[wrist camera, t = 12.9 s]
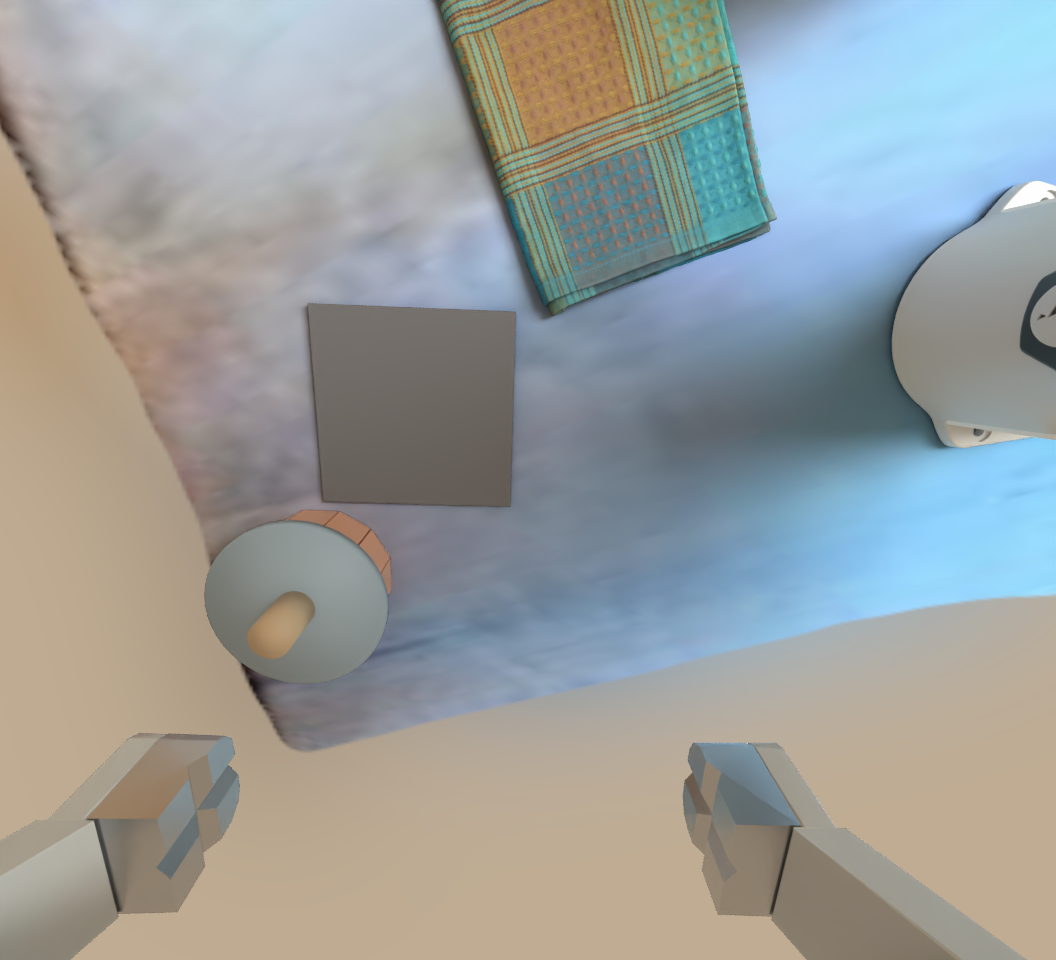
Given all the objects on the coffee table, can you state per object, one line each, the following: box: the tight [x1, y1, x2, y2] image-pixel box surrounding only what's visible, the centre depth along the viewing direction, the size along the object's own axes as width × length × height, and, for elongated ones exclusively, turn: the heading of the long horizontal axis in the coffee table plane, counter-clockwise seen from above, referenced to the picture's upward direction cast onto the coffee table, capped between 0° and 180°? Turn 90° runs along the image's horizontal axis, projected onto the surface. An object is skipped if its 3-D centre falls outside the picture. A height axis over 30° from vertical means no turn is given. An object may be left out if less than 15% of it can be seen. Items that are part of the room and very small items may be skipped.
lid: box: [204, 520, 389, 684], centre depth 34 cm, size 13×13×5 cm
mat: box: [308, 303, 516, 507], centre depth 38 cm, size 15×15×1 cm
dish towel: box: [437, 0, 777, 315], centre depth 32 cm, size 17×23×2 cm
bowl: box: [285, 510, 392, 595], centre depth 39 cm, size 11×11×5 cm
